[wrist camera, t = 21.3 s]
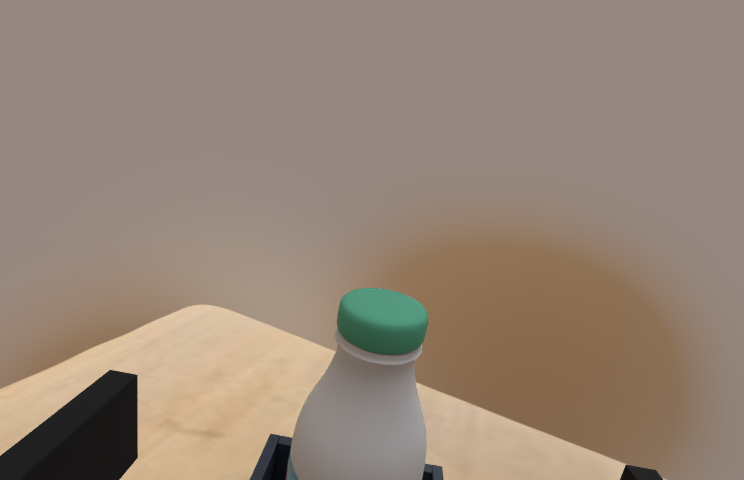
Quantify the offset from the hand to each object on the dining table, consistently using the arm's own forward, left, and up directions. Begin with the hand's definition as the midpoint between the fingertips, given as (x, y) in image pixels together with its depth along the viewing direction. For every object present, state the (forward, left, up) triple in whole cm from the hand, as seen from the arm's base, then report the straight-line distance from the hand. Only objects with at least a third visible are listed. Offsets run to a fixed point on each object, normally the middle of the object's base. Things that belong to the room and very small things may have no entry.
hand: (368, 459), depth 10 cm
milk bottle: (-2, -9, -20) cm, 22 cm away
